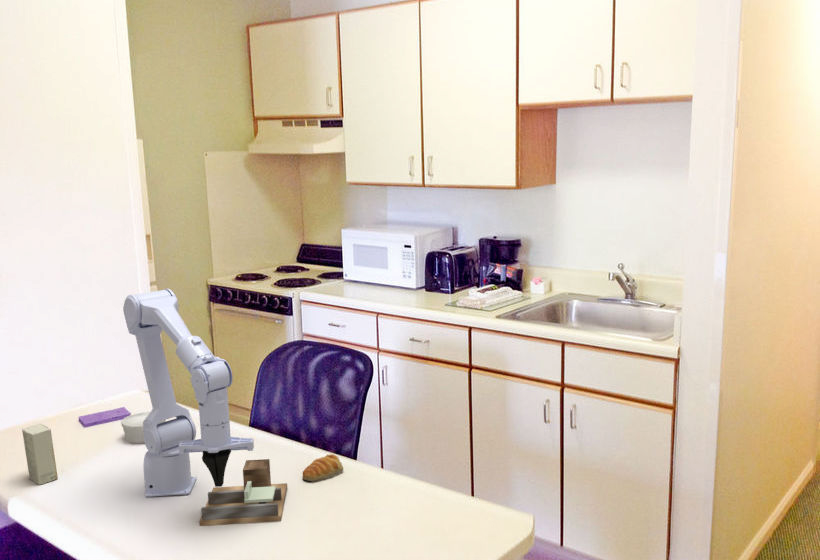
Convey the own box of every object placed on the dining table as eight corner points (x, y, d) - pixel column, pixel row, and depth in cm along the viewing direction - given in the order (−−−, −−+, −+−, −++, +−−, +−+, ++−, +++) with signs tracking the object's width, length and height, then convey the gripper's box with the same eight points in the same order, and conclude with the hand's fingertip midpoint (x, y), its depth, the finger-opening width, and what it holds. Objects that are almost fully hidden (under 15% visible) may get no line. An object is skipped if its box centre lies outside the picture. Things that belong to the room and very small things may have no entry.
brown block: (244, 496, 158) (242, 470, 157) (247, 486, 163) (246, 460, 162) (268, 495, 159) (266, 468, 158) (271, 484, 164) (269, 459, 163)
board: (199, 525, 149) (198, 509, 148) (213, 491, 163) (212, 477, 163) (280, 520, 150) (279, 505, 149) (287, 487, 164) (286, 473, 164)
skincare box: (58, 479, 172) (52, 429, 170) (38, 486, 169) (32, 435, 167) (47, 471, 176) (41, 422, 174) (27, 478, 173) (21, 428, 171)
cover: (244, 503, 150) (243, 492, 149) (248, 490, 155) (247, 480, 155) (272, 501, 150) (272, 491, 150) (275, 488, 156) (275, 478, 155)
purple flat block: (131, 419, 211) (130, 412, 211) (84, 429, 204) (83, 423, 204) (124, 412, 217) (124, 406, 217) (78, 422, 210) (77, 416, 210)
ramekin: (151, 426, 204) (149, 408, 203) (176, 434, 197) (175, 415, 196) (114, 439, 195) (112, 420, 194) (139, 449, 189) (137, 429, 188)
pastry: (315, 486, 165) (314, 470, 164) (295, 478, 169) (294, 463, 169) (345, 472, 172) (345, 456, 171) (326, 465, 176) (325, 449, 176)
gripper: (173, 430, 145) (178, 495, 147) (248, 426, 146) (252, 491, 148) (181, 417, 152) (186, 479, 154) (253, 413, 153) (257, 476, 155)
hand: (219, 484), depth 152 cm, fingers closed
